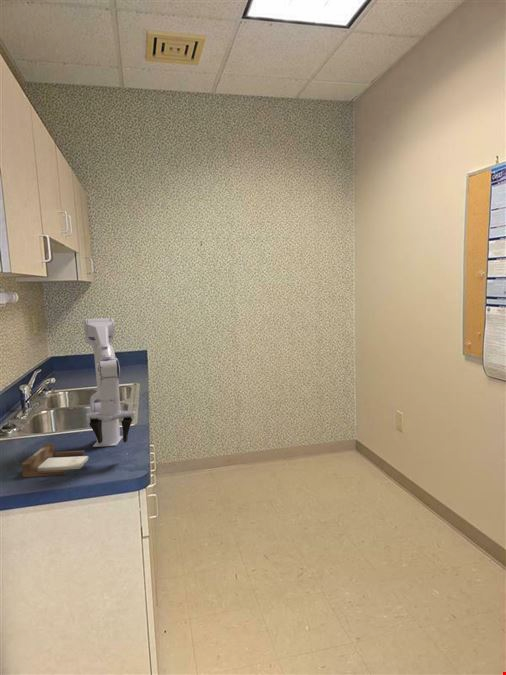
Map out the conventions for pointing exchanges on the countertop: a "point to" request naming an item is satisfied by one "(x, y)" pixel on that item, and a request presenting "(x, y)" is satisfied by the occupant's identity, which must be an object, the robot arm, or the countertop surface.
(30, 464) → the dock
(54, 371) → the countertop surface
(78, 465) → the external hard drive
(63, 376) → the countertop surface
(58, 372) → the countertop surface
